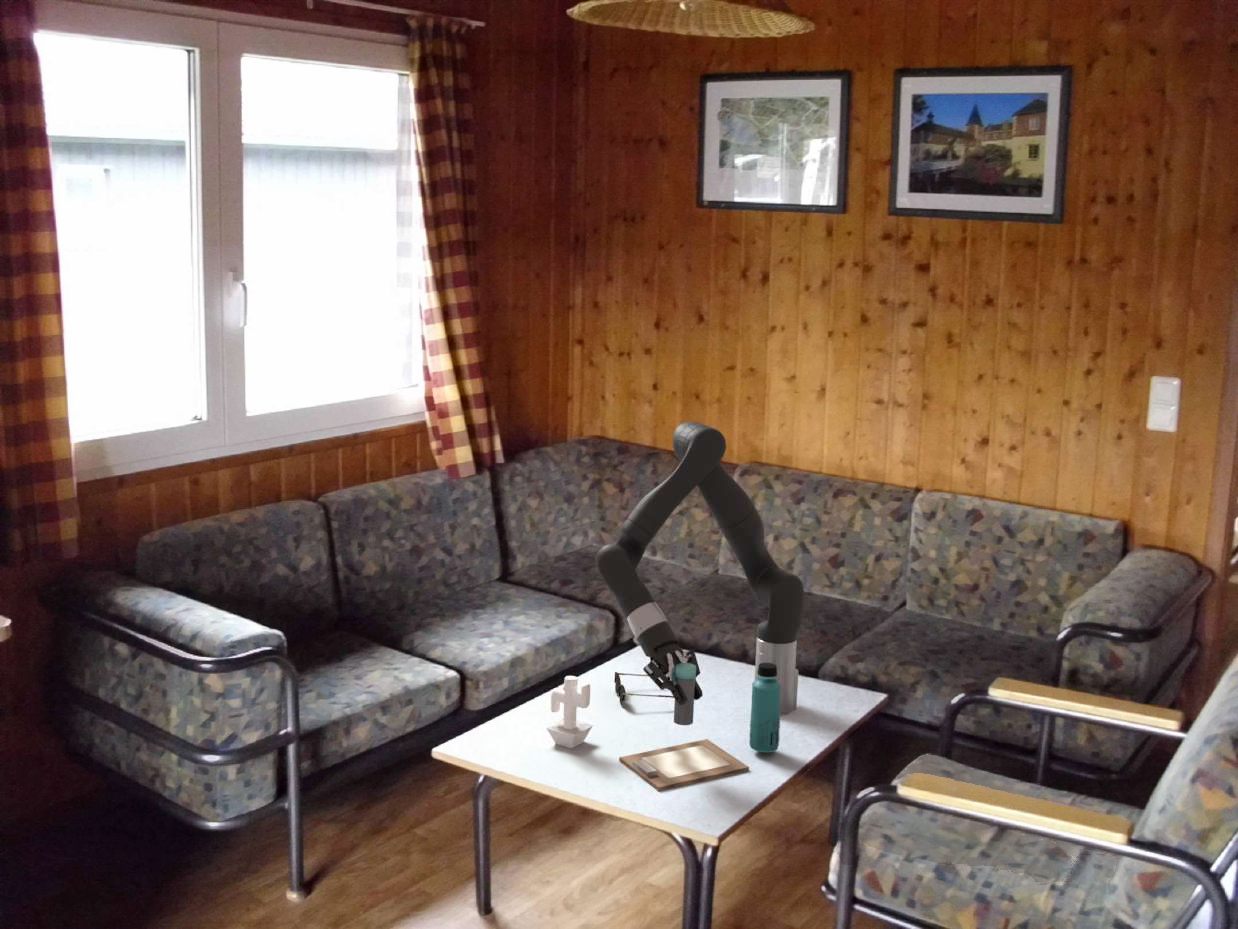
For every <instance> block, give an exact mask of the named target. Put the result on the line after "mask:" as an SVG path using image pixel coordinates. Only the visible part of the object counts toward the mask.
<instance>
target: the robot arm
mask: <svg viewBox="0 0 1238 929" xmlns="http://www.w3.org/2000/svg"><path fill="white" fill-rule="evenodd" d="M672 448H673V451H674V452H673V453H675V454H674V455H675V456H676V458H677V459H678V460H679V462H680V463H679V464H678V466H677V468H676V469H675V470H674V471H673V472H672V474H670V475H669V476H668V477H667V478H666V479H665V480H664V481H662V483H660V484H659V485H658V486H656V487H655V488H653V489H652V490H651V491H650V492H649V493H647V494H646V495H645V496H644V497H642V499H640V501H639V502H638V503H637V504H636V506H635V507H634V509H633V510H632V512H631V513H630V514H629V515H628V517H627V518H626V520H625V521H624V523H623V524H622V526H621V534H620V536H619V538H618V539H617V541H616V543H614V544H606V545H604V546H603V547H601V548H600V549H599V550H598V552H597V553H596V556H595V567H596V568H597V571H598V573H599V574H600V576H601V577H602V578H601V579H603V581H604V583H605V584H606V585H607V587H608V588H609V589H610V591H611V593H612V594H613V595H614V597H615V599H616V601H617V603H618V605H619V608H620V609H621V611H622V612H623V615H624V616H625V618H626V620H627V622H628V625H629V628H630V630H631V632H632V633H633V635H634V637H635V639H636V641H637V643H638V644H639V646H640V648H641V649H642V652H643V654H644V655H645V656H646V657H648V658H649V659H650V662H649V663H647V664H646V665H645V666H644V667H643V672H645V675H648V676H647V677H649V678H650V679H651V681H653V683H655V685H656V686H657V688H659V689H660V690H662V691H663V690H668V691H670V693H671V694H672V695H671V696H674V698H673V699H674V701H675V700H676V702H677V703H679V705H684V704H685V703H686V702H687V701H688V699H687V697H686V695H685V693H684V692H683V690H682V688H681V686H680V685H678V681H677V678H676V665H677V664H679V663H690V664H693V665H695V666H696V677H695V692H694V701H698V700H700V699H701V698H702V697H703V690H702V689H701V687H700V684H699V682H698V681H697V677H698V676H699V675H700V674H701V669H700V667H699V663H698V659H697V656H696V653H695V650H694V649H693V648H692V649H691V648H690V649H689V650H684V649H683V648H681V647H680V646H679V645H678V637H677V635H676V633H675V632H674V630H673V628H672V626H671V625H670V623H669V621H668V619H667V618H666V616H665V614H664V613H663V611H662V609H661V608H660V607H659V605H658V603H656V601H655V599H654V597H653V596H652V593H651V592H650V591H649V589H648V587H647V586H646V584H644V582H643V581H642V580H641V578H640V576H639V575H638V573H637V571H636V569H637V567H638V566H639V564H640V563H641V562H640V561H641V560H642V558H643V556H644V554H645V552H646V550H647V547H648V546H649V544H650V543H651V542H652V541H653V540H654V538H655V537H656V536H657V534H658V533H659V531H660V530H661V529H662V527H663V525H664V524H665V523H666V522H667V520H668V519H669V517H670V516H671V515H672V513H673V512H674V511H675V510H676V509H677V508H678V506H679V505H680V504H681V503H682V501H684V500H685V499H686V497H687V496H688V495H689V494H690V493H691V492H692V491H693V490H694V489H695V488H696V487H697V488H698V490H699V491H700V494H701V496H702V497H703V500H704V501H705V504H706V505H707V507H708V509H709V511H710V512H711V514H712V517H713V519H714V520H715V523H716V524H717V526H718V528H719V529H720V531H721V534H722V535H723V537H724V538H725V539H726V541H727V543H728V545H729V547H730V548H731V550H732V552H733V554H734V556H735V558H736V559H737V560H738V562H739V563H740V565H741V567H742V571H743V572H744V575H745V578H746V580H747V582H748V585H749V587H750V589H751V591H752V593H753V595H754V598H755V599H756V600H757V601H758V603H760V604H762V605H763V606H765V607H767V608H768V616H767V620H764V621H761V622H760V623H759V624H757V628H756V644H755V645H756V648H755V650H756V651H755V662H754V663H755V664H754V665H755V667H754V668H755V669H754V681H755V680H756V679H758V678H759V677H762V676H760V675H758V666H759V664H760V663H765V662H768V663H773V664H775V665H776V666H777V676H775V677H772V678H775V679H776V680H777V681H779V683H780V684H781V707H780V708H781V709H780V710H781V711H780V716H781V715H787V714H790V713H791V712H792V711H793V710H796V709H797V705H798V704H797V702H798V689H799V688H798V687H799V686H798V685H799V682H798V681H799V669H797V668H796V660H797V659H796V657H797V641H798V633H799V631H800V629H801V626H802V621H803V613H804V612H803V610H804V602H805V589H804V584H803V581H802V580H801V578H800V577H798V576H797V575H795V574H794V573H791V572H789V571H786V570H784V569H783V568H780V566H779V565H778V564H777V563H776V562H775V560H774V559H773V557H772V555H771V554H770V553H769V551H768V549H767V547H766V543H765V529H764V523H763V520H762V517H761V515H760V514H759V512H758V510H757V508H756V507H755V504H754V503H753V501H752V499H751V498H750V496H749V495H748V494H747V492H746V491H745V490H744V489H743V488H742V486H741V485H739V484H738V482H737V481H736V480H735V479H734V478H733V477H732V476H731V475H730V474H729V472H727V470H726V469H725V468H724V466H723V464H722V463H721V461H722V459H723V457H724V455H725V454H726V448H727V442H726V438H725V436H724V434H723V433H722V432H721V431H720V430H718V429H716V428H714V427H711V426H709V425H707V424H704V423H701V422H697V421H696V422H695V421H686V422H682V423H681V424H680V425H678V426H677V427H676V429H675V430H674V433H673V435H672Z"/></svg>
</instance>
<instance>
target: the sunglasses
mask: <svg viewBox="0 0 1238 929" xmlns="http://www.w3.org/2000/svg"><path fill="white" fill-rule="evenodd" d="M625 675H626V676H636V677H649V676H648V675H647V674H643V673H642V674H641V673H640V674H637V673H635V674H634V673H623V672H618V671H615V672H614V683H615V687H614V689H615V690H614V691H615V694H616V696H617V697H619V704H620V706H621V707H624V702H625V700H626V696H639V697H653V698H655V697H658V698H659V697H660V698H672V699H675V698H674V696H673V695H663V694H662V695H661V694H640V693H639V694H638V693H629V692H626V688H625V686H624V684H621V683H622V680H621V677H620V676H625Z"/></svg>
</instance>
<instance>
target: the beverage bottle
mask: <svg viewBox="0 0 1238 929" xmlns="http://www.w3.org/2000/svg"><path fill="white" fill-rule="evenodd" d="M758 675H760V676H762V677H759V678H758V679H756V680H755V679H754V681H753V682H751V683H752V684H751V686H752V687H751V688H752V689H751V705H750V706H751V709H750V720H749V721H750V723H749V735H748V736H749V740H748V742H749V745H750V746H749V747H750V748H751V749H752V750H754V751H757V752H761V753H772V752H776V751H777V750H778V749H779V747H780V739H781V736H780V729H781V728H780V727H781V715H780V711H781V710H780V709H781V708H780V707H781V684H780V683H779V681H777V680H776V679H775V678H772V677H775V676H777V666H776V665H775V664H773V663H768V662H765V663H760V664H759V666H758Z"/></svg>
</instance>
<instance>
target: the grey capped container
mask: <svg viewBox="0 0 1238 929" xmlns="http://www.w3.org/2000/svg"><path fill="white" fill-rule="evenodd" d="M695 677H696V666H695V665H693V664H690V663H679V664H677V665H676V678H677V681H678V685H680V686H681V688H682V690H683V692H684V693H685V695H686V697H687V699H688V701H687V702H686V703H685V704H684V705H679V703H677V702H676V700H675V699H674V703H673V705H674V706H673V712H674V713H673V723H674V724H676V725H679V726H690V725H692V724H694V709H695V699H694V692H695ZM696 678H697V677H696Z"/></svg>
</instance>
